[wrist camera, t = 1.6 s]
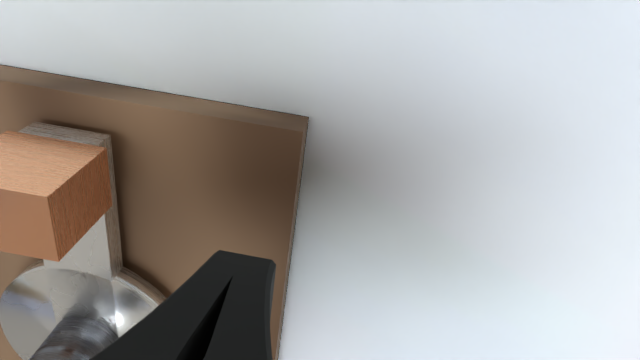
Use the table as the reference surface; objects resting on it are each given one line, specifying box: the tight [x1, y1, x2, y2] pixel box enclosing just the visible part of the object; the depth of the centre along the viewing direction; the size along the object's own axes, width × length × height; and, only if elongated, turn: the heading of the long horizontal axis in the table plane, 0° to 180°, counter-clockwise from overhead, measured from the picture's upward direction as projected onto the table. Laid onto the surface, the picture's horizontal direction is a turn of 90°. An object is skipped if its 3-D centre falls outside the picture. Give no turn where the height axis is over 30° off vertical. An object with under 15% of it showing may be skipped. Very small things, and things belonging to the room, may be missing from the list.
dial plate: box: [0, 122, 167, 360], centre depth 16 cm, size 12×7×4 cm, turn 172°
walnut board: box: [0, 65, 309, 360], centre depth 17 cm, size 16×17×5 cm
